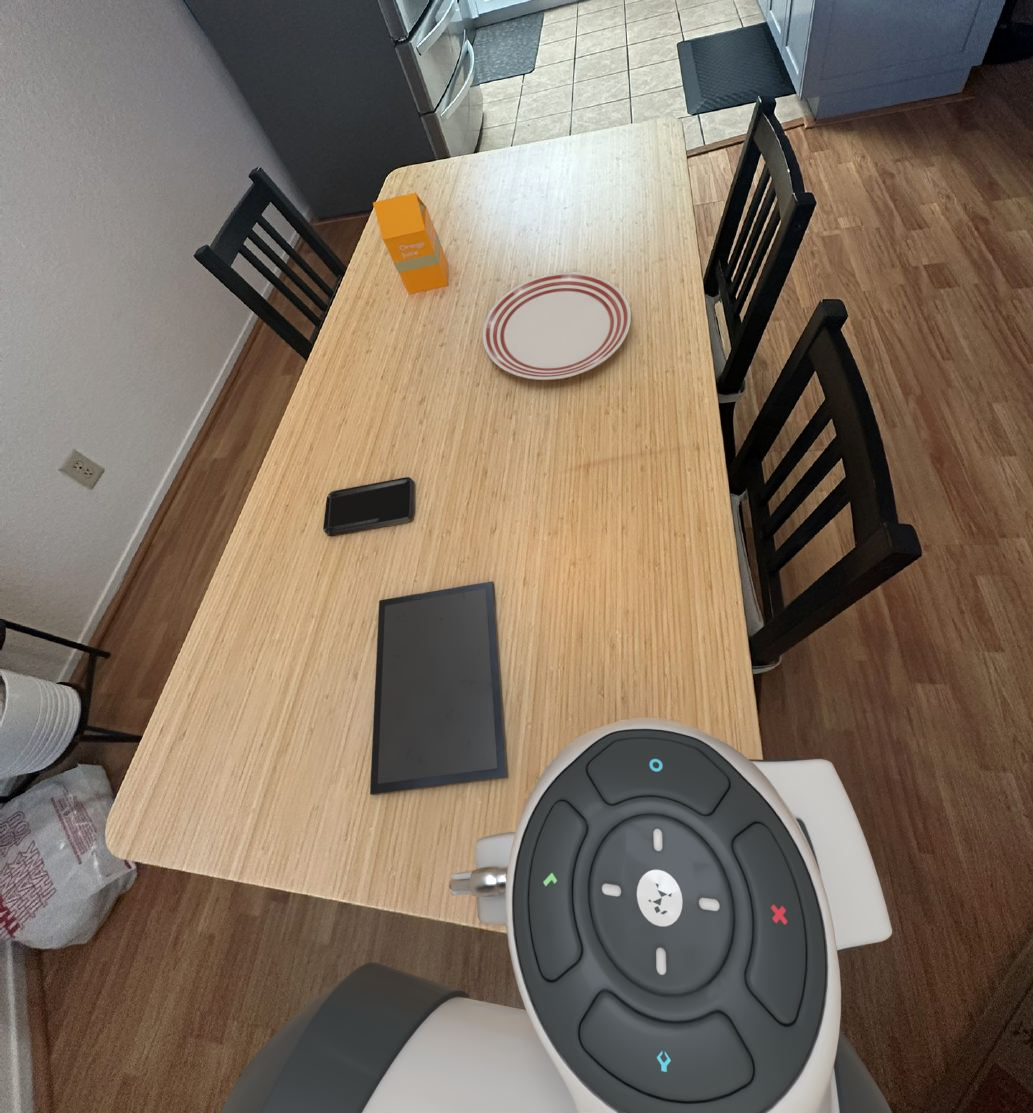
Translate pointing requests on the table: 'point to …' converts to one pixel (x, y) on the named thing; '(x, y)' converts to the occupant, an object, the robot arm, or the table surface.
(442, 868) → the table surface
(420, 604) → the tablet
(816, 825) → the robot arm
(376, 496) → the phone
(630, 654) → the table surface
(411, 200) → the orange juice
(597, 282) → the dinner plate
